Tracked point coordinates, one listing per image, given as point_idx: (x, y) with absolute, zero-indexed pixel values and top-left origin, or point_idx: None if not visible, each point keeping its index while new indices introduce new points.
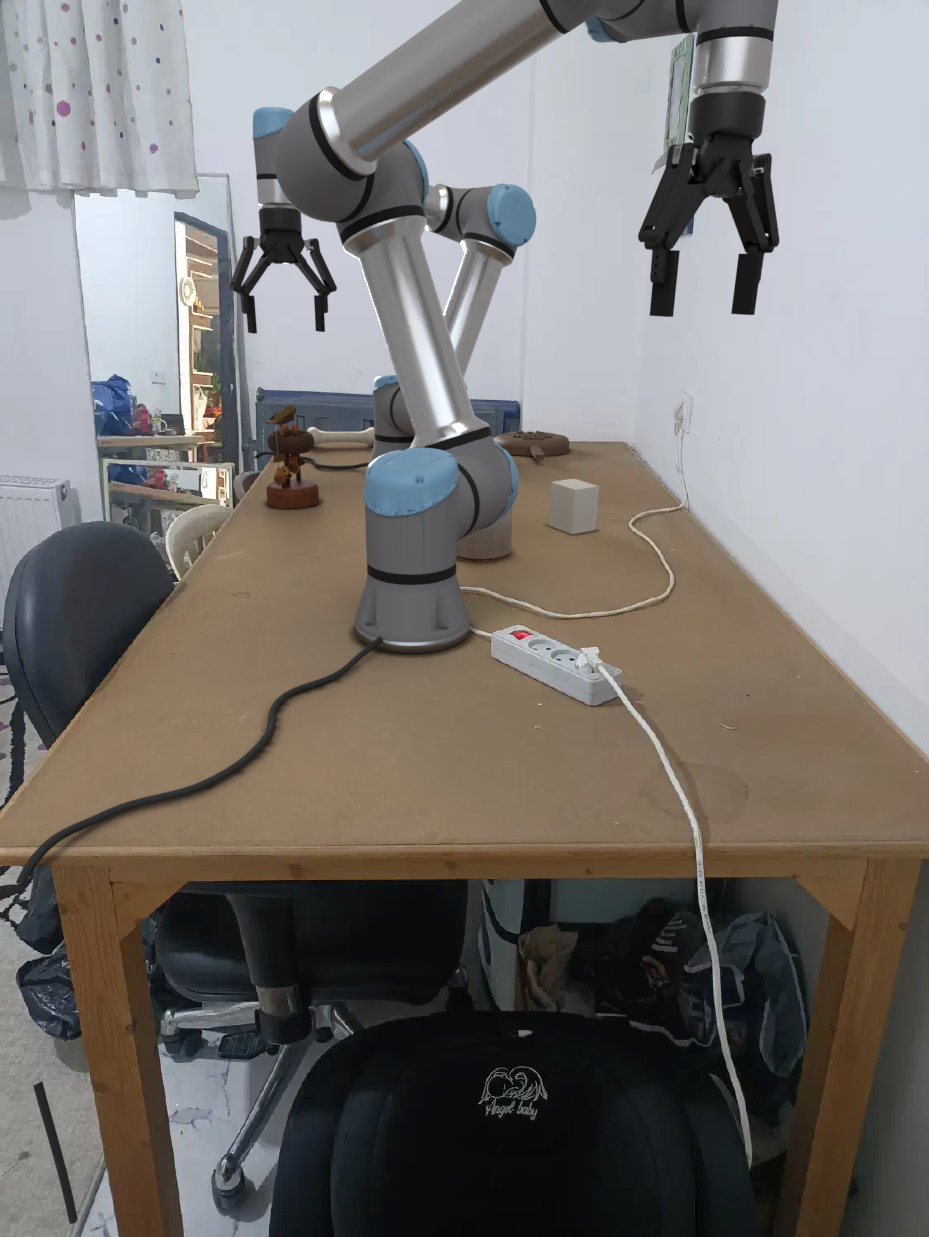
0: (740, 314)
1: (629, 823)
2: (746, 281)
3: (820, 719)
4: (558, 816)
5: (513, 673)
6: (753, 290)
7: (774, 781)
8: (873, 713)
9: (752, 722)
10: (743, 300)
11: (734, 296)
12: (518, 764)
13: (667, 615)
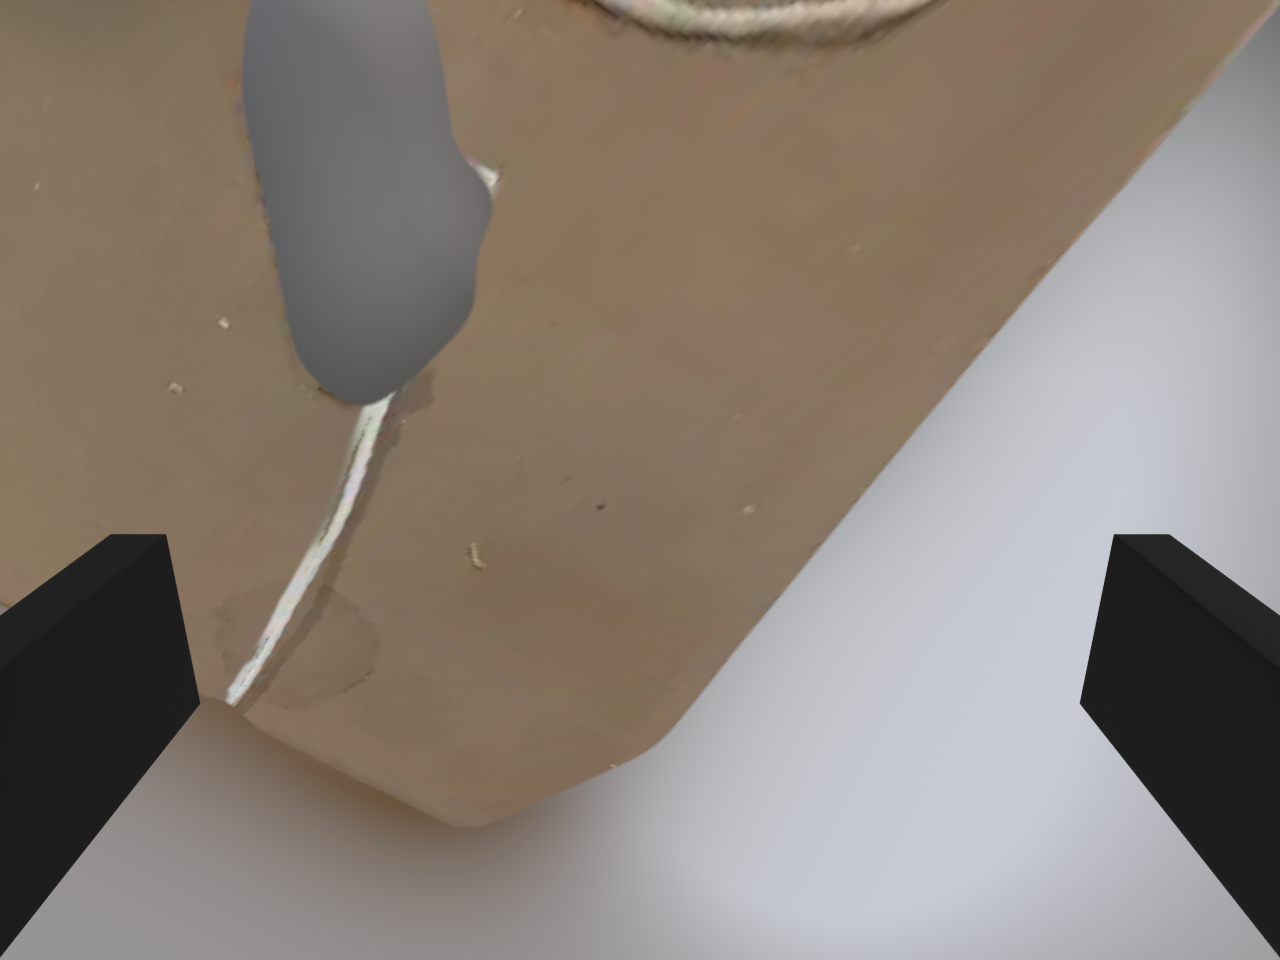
0: (1097, 621)
1: None
2: (1259, 810)
3: (632, 621)
4: None
5: (243, 181)
6: (1185, 832)
7: (415, 685)
8: (726, 653)
9: (525, 570)
10: (1153, 693)
11: (1198, 612)
12: (87, 463)
13: (793, 124)
